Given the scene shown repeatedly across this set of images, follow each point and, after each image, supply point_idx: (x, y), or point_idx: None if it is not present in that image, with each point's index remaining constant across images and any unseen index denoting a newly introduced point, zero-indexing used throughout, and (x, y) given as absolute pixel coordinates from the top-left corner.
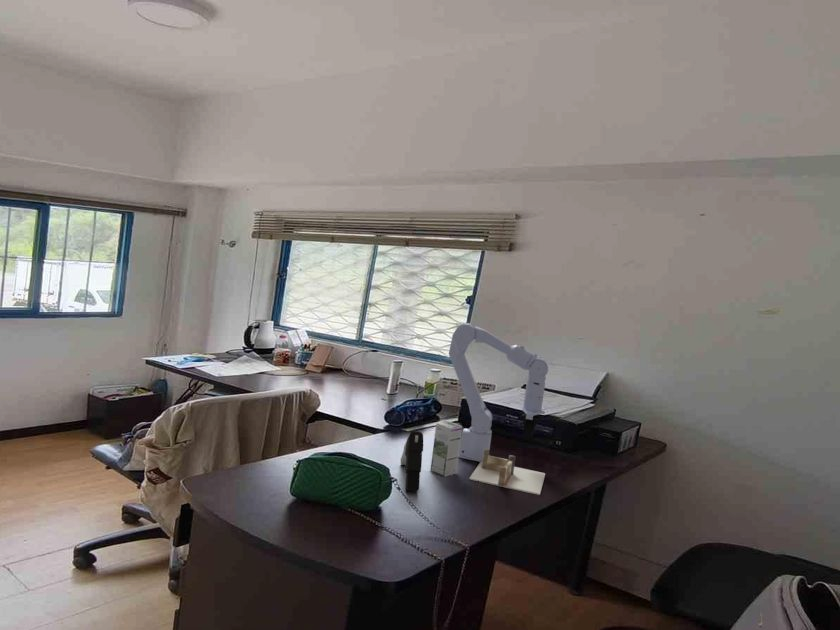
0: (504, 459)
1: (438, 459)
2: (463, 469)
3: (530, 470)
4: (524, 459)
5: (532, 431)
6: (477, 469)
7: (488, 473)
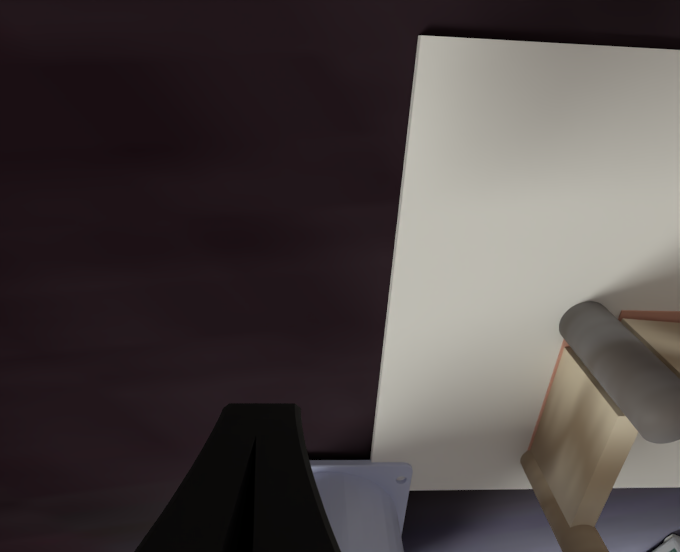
0: (630, 436)
1: None
2: None
3: (415, 185)
4: (67, 254)
5: (322, 517)
6: None
7: None
